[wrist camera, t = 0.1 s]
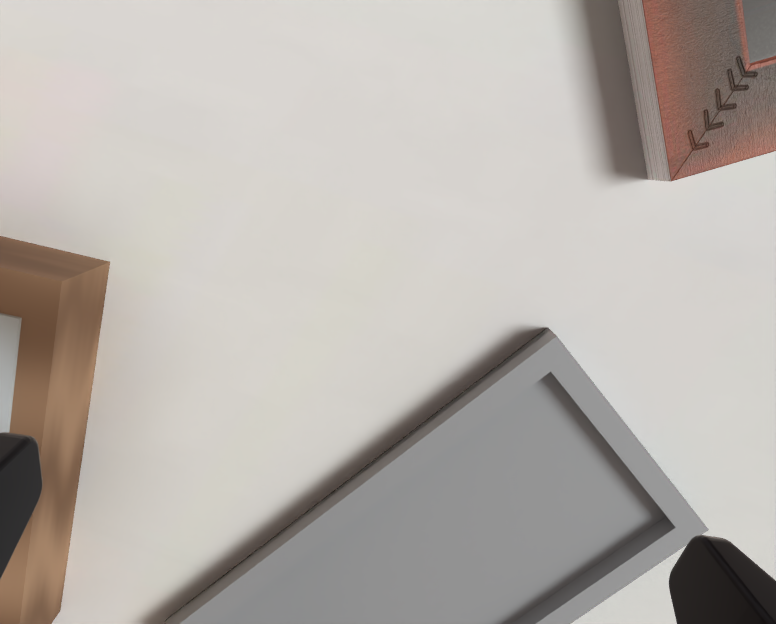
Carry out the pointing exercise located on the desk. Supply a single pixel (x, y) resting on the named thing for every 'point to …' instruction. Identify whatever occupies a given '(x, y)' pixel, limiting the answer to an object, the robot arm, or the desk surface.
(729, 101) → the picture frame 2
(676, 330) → the desk surface
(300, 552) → the display tray
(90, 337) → the wooden box
